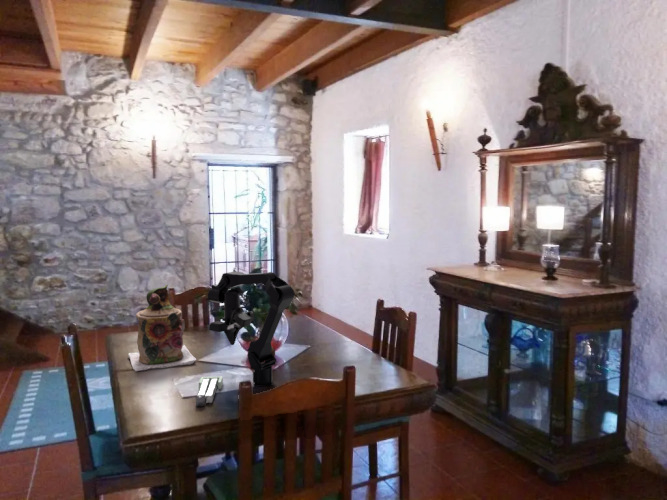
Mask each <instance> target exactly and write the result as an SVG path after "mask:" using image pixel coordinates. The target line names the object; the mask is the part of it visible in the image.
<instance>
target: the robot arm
mask: <svg viewBox="0 0 667 500" xmlns="http://www.w3.org/2000/svg"><path fill="white" fill-rule="evenodd" d="M260 284H261V285H263V286H264V289H265V292H266V294H267V295H268V296H269V299H268V300H269V301H268V302H269V311H268V312H267V315H266V318H265V320H264V323H263V325H262V328H261V330H260V334H259V335H258V338H257V339H255V340H252V341H251V340H250V343H249V347H248V348H247V350H246V351H247V359H248V363H249V366H250V369H251V370H252V383H253V386H254V387H266V386H267V387H268V386H269V387H270V386H273V366H276V365H277V358H276V357H275V356H273V354H272V353H271V351H272V347H273V346H272V341H273V338H274V336H275V334H276V332H277V328H278V326H279V324H280V321H281V318H282V315H283V313H284V311H285V310H287V308H288V306H289V307H290V305H291V303H292V302H293V300H294V298H295V296H296V295H295V291H294V288H293V287H292V286H291V285H289V284H288V282H286V280H283V279H282V278H280V277H279V276H277V274H276V273H275V272H273V271H270V272H269V271H268V272H259V273H255V272H254V273H244V272H242V271H238V270H237V271H230V272H229V271H228V272H224V273H222V275H221V278H220V280H219V282H218V283H217V284H211V288H210V289H208V292H207V300H209V302H212V303H218V304H223V307H221V310H222V311H223V312H224V313H223V315H224V317H222V318H221V320H222V321H219V320H216V321H213V322H210V323H209V325H208V328H209V329H208V330H209V331H213V332H215V333H216V332H217V333H222V332H224V334H225V336H226V338H227V339H228V342H229V344H230V346H234V345H235V343H236V340H237V337H238V334H239V333H240V330H242V329H243V328H245V327H247V326H249V327H250V325H251V324H255V315H254V311H252V310H251V311H248V312H244V311H243V308H242V306H240V295H243V294H244V293H245V292H244V291H243V290H242V289H241V287H240V286H243V285H244V286H245V285H260ZM263 361H265V362H263Z"/></svg>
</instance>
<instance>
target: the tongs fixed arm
mask: <svg viewBox="0 0 667 500" xmlns="http://www.w3.org/2000/svg"><path fill="white" fill-rule="evenodd" d="M217 388H218V379H212V380H211V383H210V384H209V388H208V391H207V393H206V398H205V404H208V403H209V404H212V403H213V400H214V397H215V394H216V392H217Z"/></svg>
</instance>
